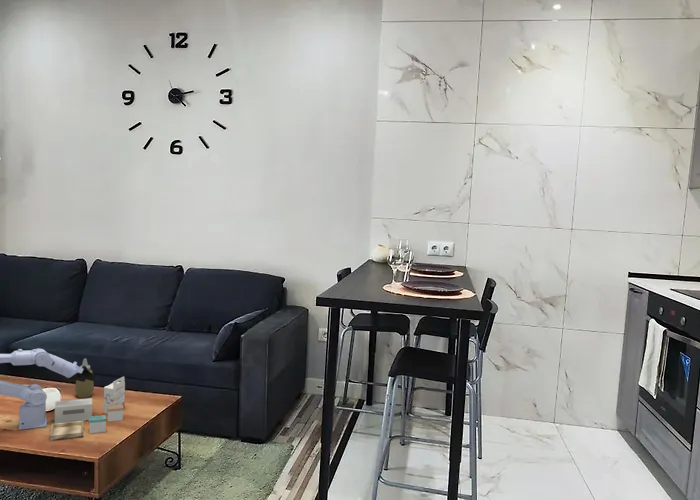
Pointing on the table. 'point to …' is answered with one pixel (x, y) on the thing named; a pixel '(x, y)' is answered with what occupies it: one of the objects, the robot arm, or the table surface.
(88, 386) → the squeeze bottle
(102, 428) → the small white teal box
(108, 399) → the ink cartridge box
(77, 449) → the table surface
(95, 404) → the table surface
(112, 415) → the light grey block
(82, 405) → the printer unit
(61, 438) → the oak tray
